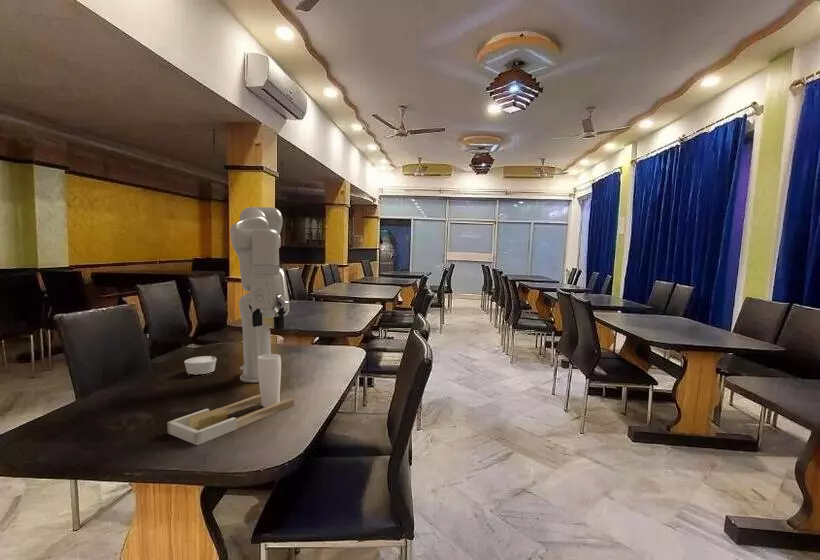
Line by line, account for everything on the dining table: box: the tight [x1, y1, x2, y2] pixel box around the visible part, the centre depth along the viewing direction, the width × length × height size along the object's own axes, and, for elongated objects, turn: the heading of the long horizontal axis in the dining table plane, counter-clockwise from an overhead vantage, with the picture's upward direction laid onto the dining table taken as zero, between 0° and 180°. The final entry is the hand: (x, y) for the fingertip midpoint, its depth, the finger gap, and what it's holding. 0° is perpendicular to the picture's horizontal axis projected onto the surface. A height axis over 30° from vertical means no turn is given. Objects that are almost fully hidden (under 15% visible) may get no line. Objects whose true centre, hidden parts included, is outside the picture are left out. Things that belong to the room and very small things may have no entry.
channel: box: [218, 393, 295, 429], centre depth 126 cm, size 13×20×2 cm, turn 147°
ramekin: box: [183, 355, 217, 375], centre depth 168 cm, size 11×11×5 cm
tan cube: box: [189, 413, 213, 430], centre depth 113 cm, size 4×4×4 cm
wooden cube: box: [206, 407, 229, 425], centre depth 116 cm, size 4×4×4 cm
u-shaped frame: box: [166, 408, 238, 446], centre depth 113 cm, size 13×11×3 cm
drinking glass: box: [258, 353, 282, 408], centre depth 131 cm, size 7×7×15 cm
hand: (268, 327), depth 130 cm, fingers open, 9 cm apart
